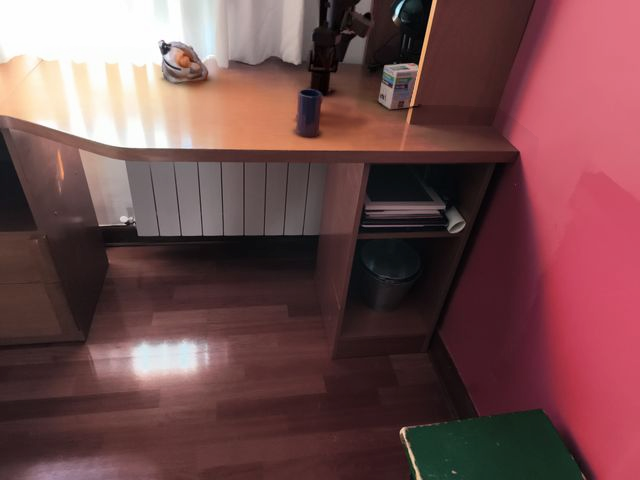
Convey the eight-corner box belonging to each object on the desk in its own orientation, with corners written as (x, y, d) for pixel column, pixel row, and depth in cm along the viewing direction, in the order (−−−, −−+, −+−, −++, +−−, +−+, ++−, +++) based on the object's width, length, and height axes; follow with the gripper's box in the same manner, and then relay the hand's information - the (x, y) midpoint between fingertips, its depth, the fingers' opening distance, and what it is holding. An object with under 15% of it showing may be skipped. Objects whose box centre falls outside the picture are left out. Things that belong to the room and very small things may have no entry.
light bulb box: (390, 110, 131) (396, 72, 124) (377, 101, 135) (383, 64, 129) (419, 106, 135) (427, 69, 129) (406, 98, 140) (413, 62, 133)
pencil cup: (308, 126, 117) (310, 87, 111) (323, 133, 114) (326, 94, 108) (291, 131, 114) (293, 91, 108) (306, 139, 111) (309, 98, 105)
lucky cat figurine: (217, 77, 141) (214, 41, 128) (193, 101, 136) (187, 66, 123) (178, 53, 142) (171, 16, 130) (152, 77, 138) (142, 40, 125)
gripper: (359, 9, 98) (350, 82, 107) (384, -2, 112) (375, 63, 121) (312, 1, 101) (307, 72, 110) (342, -9, 115) (336, 56, 124)
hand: (334, 66), depth 116 cm, fingers open, 9 cm apart
